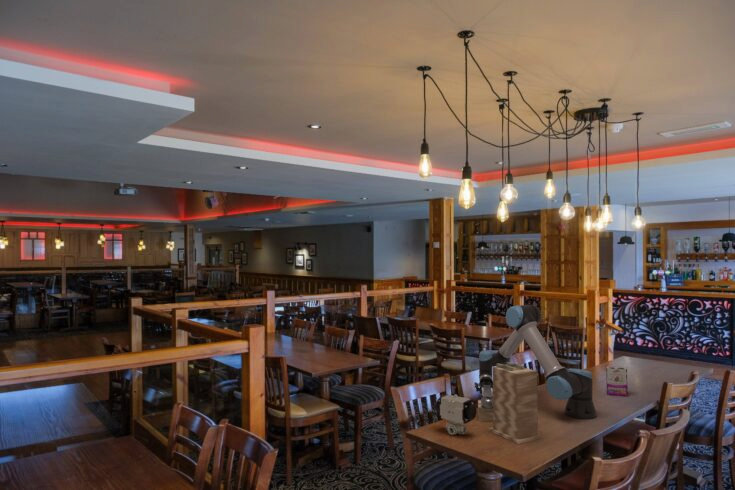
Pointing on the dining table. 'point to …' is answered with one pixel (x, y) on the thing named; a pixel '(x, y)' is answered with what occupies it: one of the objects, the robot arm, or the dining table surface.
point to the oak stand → (515, 403)
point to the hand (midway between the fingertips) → (487, 393)
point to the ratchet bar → (487, 398)
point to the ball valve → (456, 412)
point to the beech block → (484, 413)
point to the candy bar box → (616, 381)
